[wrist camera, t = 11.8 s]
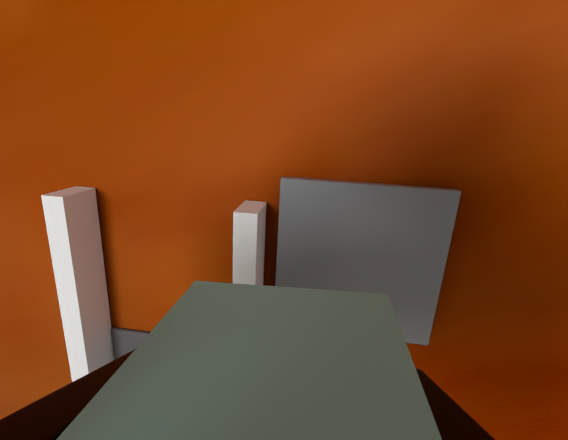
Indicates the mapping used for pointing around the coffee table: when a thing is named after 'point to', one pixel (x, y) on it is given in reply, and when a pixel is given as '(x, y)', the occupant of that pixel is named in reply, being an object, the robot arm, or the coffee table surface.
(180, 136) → the coffee table surface
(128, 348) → the channel
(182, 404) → the block
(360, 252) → the coaster
